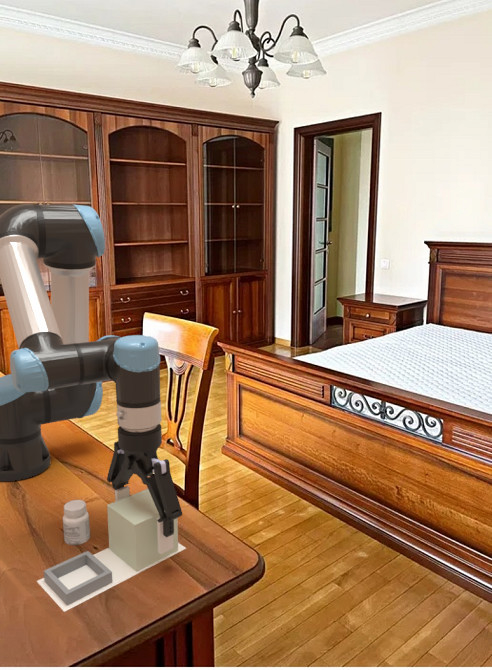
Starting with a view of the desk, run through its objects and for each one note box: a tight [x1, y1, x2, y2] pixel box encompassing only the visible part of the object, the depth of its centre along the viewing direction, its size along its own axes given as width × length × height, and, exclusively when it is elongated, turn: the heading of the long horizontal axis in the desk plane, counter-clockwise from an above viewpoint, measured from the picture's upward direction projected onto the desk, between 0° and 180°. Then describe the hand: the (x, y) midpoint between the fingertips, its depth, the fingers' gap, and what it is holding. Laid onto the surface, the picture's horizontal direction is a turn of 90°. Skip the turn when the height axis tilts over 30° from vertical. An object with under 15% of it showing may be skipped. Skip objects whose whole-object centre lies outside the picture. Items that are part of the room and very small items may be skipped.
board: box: [36, 542, 187, 613], centre depth 95 cm, size 10×24×8 cm, turn 134°
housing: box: [106, 488, 179, 572], centre depth 99 cm, size 9×9×9 cm
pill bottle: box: [62, 499, 91, 546], centre depth 103 cm, size 5×5×8 cm
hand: (143, 534), depth 99 cm, fingers open, 13 cm apart
